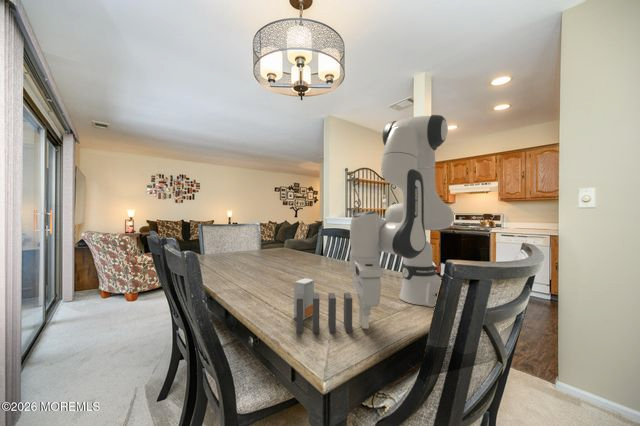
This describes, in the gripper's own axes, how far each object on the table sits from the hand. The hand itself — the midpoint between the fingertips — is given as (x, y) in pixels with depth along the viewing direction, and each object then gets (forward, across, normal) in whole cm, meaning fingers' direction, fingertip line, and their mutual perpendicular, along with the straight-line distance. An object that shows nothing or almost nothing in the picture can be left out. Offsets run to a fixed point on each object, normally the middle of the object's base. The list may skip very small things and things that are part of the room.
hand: (364, 310), depth 77 cm
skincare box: (+6, -10, -18) cm, 21 cm away
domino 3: (+5, 0, -10) cm, 11 cm away
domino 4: (+5, 0, -5) cm, 7 cm away
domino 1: (+5, 0, -19) cm, 20 cm away
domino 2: (+5, 0, -14) cm, 15 cm away
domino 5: (+4, 0, 0) cm, 4 cm away
